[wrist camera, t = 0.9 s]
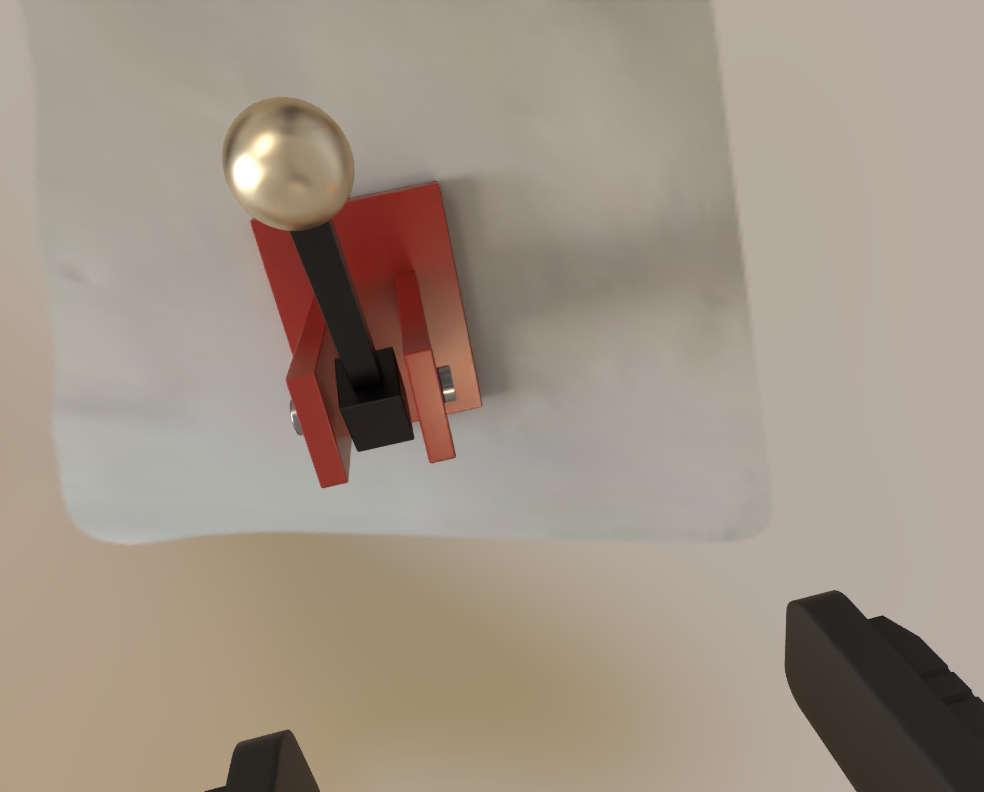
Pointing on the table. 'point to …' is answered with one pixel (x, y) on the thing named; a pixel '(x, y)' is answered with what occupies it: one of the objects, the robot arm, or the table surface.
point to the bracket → (378, 320)
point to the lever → (318, 247)
